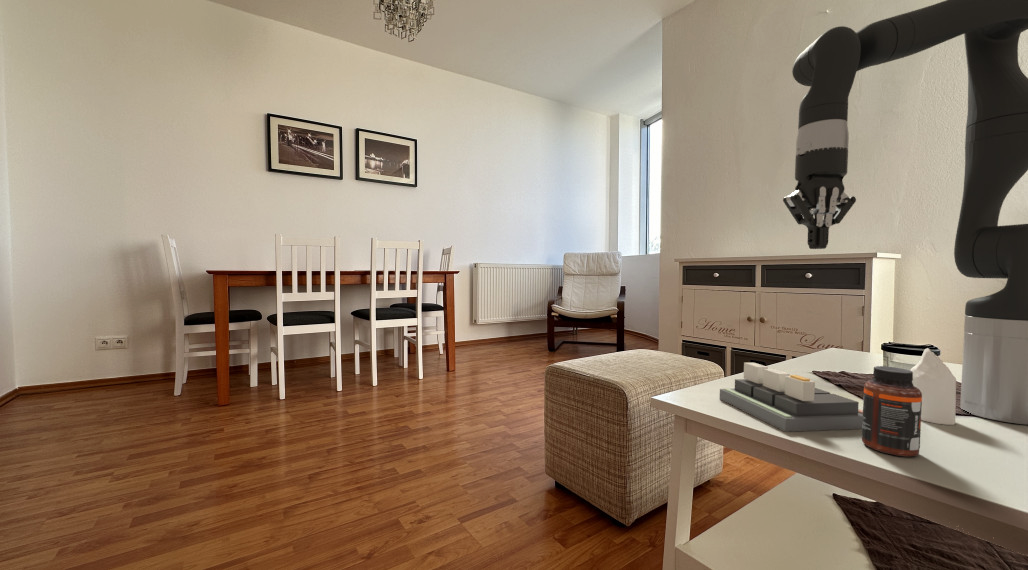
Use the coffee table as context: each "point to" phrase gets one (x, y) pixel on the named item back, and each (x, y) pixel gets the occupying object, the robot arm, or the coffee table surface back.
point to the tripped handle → (799, 387)
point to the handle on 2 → (774, 379)
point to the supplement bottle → (892, 412)
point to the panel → (795, 420)
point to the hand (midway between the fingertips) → (817, 248)
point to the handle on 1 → (754, 372)
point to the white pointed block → (935, 389)
